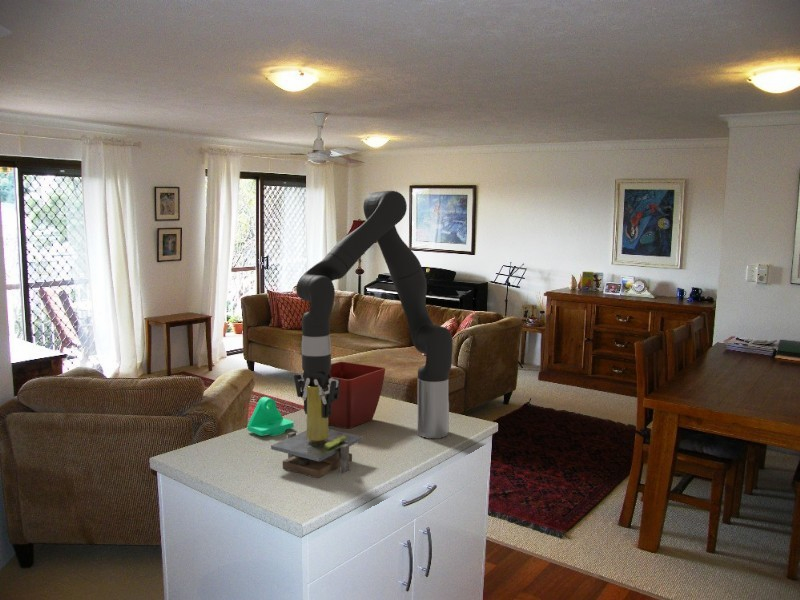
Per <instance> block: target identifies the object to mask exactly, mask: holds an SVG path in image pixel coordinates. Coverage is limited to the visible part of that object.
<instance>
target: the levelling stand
mask: <svg viewBox="0 0 800 600" xmlns="http://www.w3.org/2000/svg"><path fill="white" fill-rule="evenodd" d="M295 435H297V432H295V431H291V432H288V433H287V439H288V438H290V437H292V436H295ZM351 462H353V454H352V453H350V447H349V445H348V444H344V445H342V446H341V451H340V452H338V453H336V454H334V455H332V456H330V457H328V458H326V459H324V460H321V461H315V460H311V459H307V458H303V457H299V456H295V455H291V454H288V453H287V459H284V460H282V469H283V470H287V471H290V472H294V473H298V474H301V475H305V476H308V477H313V478H315V479H320V478H321V477H324V476H325V475H328V474H329V473H331V472H333V471H336V470H338V469H340V473H341V474H343V475H344V474H346V473H348V472H350V463H351Z"/></svg>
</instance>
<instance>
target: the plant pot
mask: <svg viewBox="0 0 800 600" xmlns="http://www.w3.org/2000/svg"><path fill="white" fill-rule="evenodd" d="M385 373H386V368H385V367H383V366H374V365H368V364H362V363H355V362H348V361H338V362H334V363H331V369H330V375H331V378H332V379H335V380H337V379H339V380H340V388H339V394H338V400H337V401H335V402H332V403H331V415H330V417H328V424H329V425H330V426H334V427H338V428H344V429H352V428H354V427H356V426H359V425H361V424H364V423H367V422H368V421H372V420H373V418H374V415H375V413H376V410H377V408H378V404H379V400H380V397H381V394H382V390H383V384H384V379H385ZM329 385H330V383H329Z"/></svg>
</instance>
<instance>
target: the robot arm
mask: <svg viewBox="0 0 800 600" xmlns="http://www.w3.org/2000/svg"><path fill="white" fill-rule="evenodd" d="M407 207H408V205H407V201H406V198H405V197H404V196H403V194H402V193H400V192H399V191H397V190H396V191H395V190H384V191H383V190H382V191H376V192H372V193H369V194H368V195H367V196H366V197H365V199H364V201H363V214H364V216H365V219H366V221H364V222H363V223H362V224H361V225H359V227H357V228H356V229H354V230H353V231H351V232H350V233H348V234H347V235H345V236H344V237H343V238H341V239H340V241H338V242H337V243H336V244H335V245H334V246H333V248H331V250H330V251H329V252H328V253H327V254H326V255H325V257H324V258H323V259H321V260H320V261H319V262H318V263H315V264H314V265H313V266H312V267H310V268H309V269H308V270H307V271H305V272H304V273H303V274H301V276H300V277H299V280H298V281H297V284H296V294H297V296H298V297H299V299H301V300H302V301H305V302H310V308H309V311H307V312H305V313H303V315H302V319H301V324H302V325H301V327H302V328H301V329H302V330H301V331H302V334H301V335H302V336H301V337H302V339H301V370H302V371H303V372H301V373H296V374H294V376H293V378H294V384H295V391H296V396H297V397H298V398H301V399H302V401H303V411H304V414H305V415H307V385H308V386H311V387H319V390H318V392H319V396H321V398H322V401H323V418H328V417H330V415H331V403H332V402H335V401H337V400H338V394H339V388H340V380H339V379H337V380H335V379H332V378H331V375H330V369H331V364H332V344H331V343H332V342H331V335H330V333H331V328H330V327H331V326H330V325H331V324H330V317H331V314H332V311H333V310H332V309H333V305H334V302H335V295H336V291H335V286H334V282H333V281H336V280H340V279H342V278H344V277H345V276H346V275H347V274H348V273H349V271H350V270H351V269H352V268H353V266H355V264H357V262H358V261H359V260H360V259H361V257H362V256H363V255H364V254H365V253H366V252H367V251H368V250H369V249H370V248H371V247H372V246H373V245H374V244H375V243H376V242H377V244H378V246H379V248H380V251H381V254H382V256H383V259H384V261H385V264H386V267H387V269H388V272H389V276H390V278H391V281H392V283H393V286H394V289H395V292H396V294H397V296H398V299H399V301H400V304H401V307H402V309H403V312H404V315H405V318H406V321H407V322H406V323H407V326H408V329H409V334H410V337H411V340H412V344H413V346H414V348H415V349H416V350H417V351H418V352H419V353H421V354H423V355H425V356H426V357H425V365H424V366H421V367H419V368H418V369H417V421H416V422H417V423H416V424H417V430H416V432H417V433H416V434H417V435H418V436H419V437H421V436H422V437H421V438H424V437H426V439H431V438H435V439H441V437H443V438H445V437H444V436H446V437H447V436H448V434H449V430H450V402H449V381H450V380H449V375H450V371H451V369H452V362H453V345H454V344H453V343H454V342H453V335H452V334H451V331H450V330H449V329H448V328H447V327H445V326H441V325H437V324H434V323H433V321H432V320H431V317H430V314H429V312H428V309H427V302H426V299H427V290H428V286H427V278H426V276H425V273H424V270H423V267H422V264H421V262H420V261H419V258H418V257H417V255H416V254H415V253H414V252H413V250H412V249H411V248H410V247H409V246H408V245H407V243H405V241H404V240H403V239H402V237H401V236H400V234H399V232H398V229H397V227H396V225H397V224H398V223H400V222H401V221H402V219H403V218H404V217H405V216H406V213H407V209H408V208H407ZM329 383H330V385H329ZM326 387H327V391H325V392H323V390H322V389H324V388H325V389H326ZM326 397H327V398H326Z"/></svg>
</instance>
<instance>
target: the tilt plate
mask: <svg viewBox="0 0 800 600" xmlns="http://www.w3.org/2000/svg"><path fill="white" fill-rule="evenodd" d="M306 434H307V429H306V430H305V431H302V432H299V433H296V435H295V436H292V437H290V438H288V437H287V438H285V439H284V440H280V441H279V442H276V443H274V444H272V445H270V450H273V451H276V452H281V453H285V454H287V455H288V454H291V455H295V456H299V457H303V458H307V459H311V460H315V461H321V460H324V459H326V458H328V457H330V456H332V455H334V454H336V453H338V452H340V451H341V446H342V445H344V444H348V445H349V448H350V447H352V446H353V445H355V444H358V443H359V442H361V441H363V436H362V435H357V434H353V433H349V432H344V431H343V432H342V431H338V430H334V429H330V428H329V438H328V439H326V440H322V441H311V440H308V439H307V438H306Z"/></svg>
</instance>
